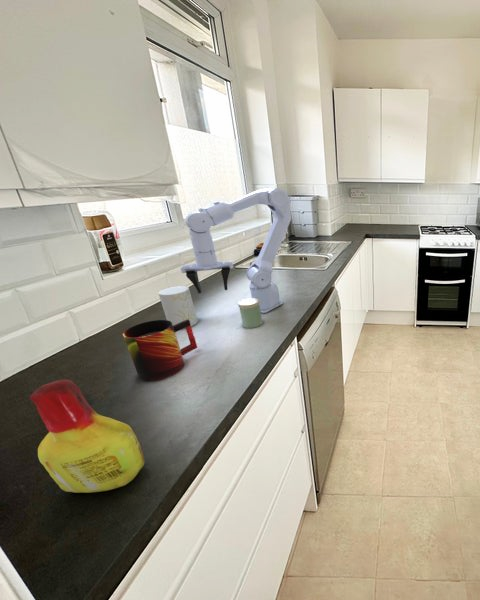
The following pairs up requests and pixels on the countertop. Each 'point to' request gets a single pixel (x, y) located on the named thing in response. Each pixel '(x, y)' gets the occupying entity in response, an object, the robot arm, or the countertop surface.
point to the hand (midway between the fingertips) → (213, 290)
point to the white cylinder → (178, 305)
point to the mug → (157, 348)
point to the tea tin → (250, 312)
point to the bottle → (84, 442)
